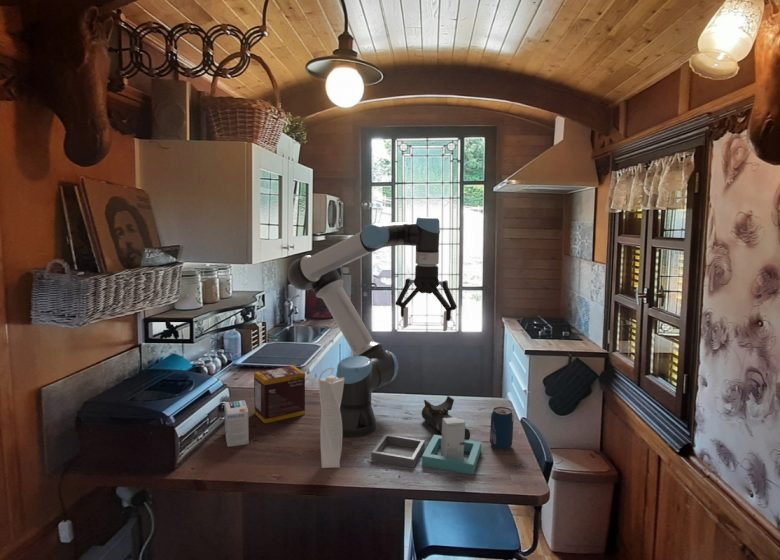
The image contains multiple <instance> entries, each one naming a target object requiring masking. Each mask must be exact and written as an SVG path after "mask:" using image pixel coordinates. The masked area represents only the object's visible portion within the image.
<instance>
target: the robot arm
mask: <svg viewBox="0 0 780 560" xmlns="http://www.w3.org/2000/svg"><path fill="white" fill-rule="evenodd" d="M440 233H441V230H440V219H439V218H437V217H429V216H427V217H426V216H425V217H424V216H423V217H422V216H420V217H419V216H418V217H417V218H416V221H415V222H403V221H401V222H400V221H389V222H388V221H387V222H383V223H382V222H374V223H370V224H367V225H365V226H364V227H363V229H362V230H361V231H359V232H357V233H356V234H354V235H351V236H349V237H347V238H346V239H343V240H341V241H340V242H337V243H334V244H333V245H331V246H330V247H326V248H325V249H323V250H321V251H318V252H317V253H315V254H313V255H309V254H307V255H304V256H302V257H300V258H297V259H295V260H294V261H292V263H290V265H289V266H288V269H287V278H288V282H289V283H290V285H291V286H292V287H294V288H295V289H298V290H300V291H310V290H312V291H313V293H314V295H315V296H316V298H319V299H322V300H323V302H324V304H325V306H326V308H327V309H328V311H329V312H330V314H331V317H332V318H333V320H334V322H335V323H336V325H337V326H338V328H339V330H340V332H341V333H342V335H343V336H344V339H345V341H346V342H347V344H348V346H349V348H350V349H351V351H352V353H353V356H348V357H345V358H343V359H341V360H340V361H339V363H338V364H337V367H336V374H335V376H336V377H337V378H342V377H343V378H344V387H343V394H342V400H341V405H340V413H341V419H342V436H345V437H362V436H366V435H369V434H371V433H373V432H374V431H375V430H376V429H377V420H376V416H375V413H374V412H375V411H374V409H373V407H372V392H373V391H376V390H378V389H379V388H381V387H384V386H386V385H389V383H391V382H392V381H393V380H395V379H396V377H397V374H398V371H399V362H398V360H397V357H396V355H395V354H394V353H393V352H392V351H389V350H386V349H384V346H383V345H382V343H381V342H376V341H375V340H374V339H373V337H372V335H371V334H370V331H369V329H368V328H367V327H366V325H365V323H364V321H363V320H362V318H361V316H360V315H359V313H358V311H357V310H356V308H355V305H353V303H352V300H351V299H350V297H349V296H348V294H347V293H346V290H345V289H344V283H345V282H344V278H343V277H344V274H343V272H344V270H343V266H345V265H347V264H349V263H352V262H354V261H356V260H358V259H360V258H362V257H364V256H367V255H369V254H371V253H374V252H376V251H378V250H380V249H382V248H388V247H394V246H395V247H397V246H412V247H414V246H415V264H416V265H415V268H414V279H413V278H410V277H408V278H406V279H405V280H404V281H405V282H404V286H403V288H402V290H401V292H400V294H399V295H398V297H397V299H396V302H395V305H396V306H398V307H400V316H401V318H403V321H402V322H403V328H406V327H408V326H409V323H408V322H409V306H407V305H408V304H409V303H410V302H411V301H412V299H414V297H415V296H416V295H417V294H418V293H420V294H428V295H431V294H433V295H434V296H435V298H436V299H437V300H438V301H439V303H440V304H441V306H442V307H443V308H444V309H445V310H444V311H443V324H442V325H443V326H442V327H443V330H442V331H443V332H446V331H447V330H448V322H450V321H451V320H452V311H455V310H456V309H457V308H458V305H457V303H456V302H455V299H454V298H453V297H454V296H453V295H452V292H451V290H450V288H449V284H448V283H449V282H448V280H439V266H438V264H439V262H440V259H439V258H440V254H439V253H440V249H439V248H440ZM413 284H414V286H415V289H413V291H412V292H411V293H410V294H409V295H408V297H406V299H405V300H404V298H405V296H406V294H407V292H408V291H409V289H410V287H411V286H412V285H413ZM439 286H440V287H441V288H442V289H443V292H444V294H445V296H446V299H447V300H446V299H445V297H444V296H443V294H441V292H440V290H439V289H438V287H439ZM403 300H404V301H403ZM447 301H448V302H447Z"/></svg>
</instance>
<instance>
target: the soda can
mask: <svg viewBox="0 0 780 560" xmlns="http://www.w3.org/2000/svg"><path fill="white" fill-rule="evenodd" d="M489 431H490V432H489V433H490V434H489V443H490V445H491V447H492V448H493V449H495V450H497V451H508V450H510V448H511V447H512V445H513V437H514V414H513V410H512V409H511V408H508V407H506V406H505V407H504V406H496V407H494V408H493V410H492V412H491V414H490V430H489Z"/></svg>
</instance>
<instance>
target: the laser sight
mask: <svg viewBox="0 0 780 560" xmlns="http://www.w3.org/2000/svg"><path fill="white" fill-rule="evenodd" d="M423 401H424V407H423V408H422V410H421V416H422V418H423V419H424V420H425V421H426V423H428V424H429V425H430V426H431V427H433V428H434V429H435V430H437V431H438V432H439V433H440V434H442V419H443V418H452V417H453V416H452V415H450V414H449V411H452V409H453V406H454V401H455V399H454V398H453V397H451V396H450V395H447V397H446V399H445V401H444V402H442V403H441V404H438V405H434V404H432V403H430V402H429V401H428V400H427V399H424V400H423ZM470 438H471V432H470V430H469V429H468V428H467V427H465V438H464V439H465V440H471V439H470Z"/></svg>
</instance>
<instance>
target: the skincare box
mask: <svg viewBox="0 0 780 560" xmlns="http://www.w3.org/2000/svg"><path fill="white" fill-rule="evenodd" d="M465 428H466V422H465V420H464V419H463V418H462V417H461V416H459V417H458V416H457V417H453V416H452V418H443V419H442V433H441V436H442V438H441V448H440V456H445V457H451V458H457V459H463V460H464V455H465V454H464V452H465V451H464V438H465Z"/></svg>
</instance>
